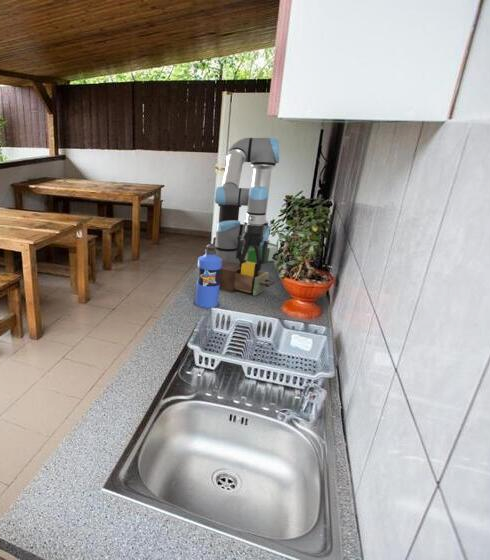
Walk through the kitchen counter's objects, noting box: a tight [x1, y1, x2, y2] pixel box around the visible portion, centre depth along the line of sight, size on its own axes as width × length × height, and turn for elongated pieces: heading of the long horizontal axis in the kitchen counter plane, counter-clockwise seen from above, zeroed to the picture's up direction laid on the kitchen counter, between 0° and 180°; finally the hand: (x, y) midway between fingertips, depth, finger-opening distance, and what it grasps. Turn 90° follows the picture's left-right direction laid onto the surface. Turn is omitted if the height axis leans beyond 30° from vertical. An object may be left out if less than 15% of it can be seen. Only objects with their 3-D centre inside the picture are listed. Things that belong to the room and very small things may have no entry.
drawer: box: [234, 270, 276, 297], centre depth 186 cm, size 18×11×8 cm, turn 49°
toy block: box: [241, 261, 256, 279], centre depth 186 cm, size 6×6×6 cm
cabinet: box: [219, 260, 241, 293], centre depth 194 cm, size 15×13×10 cm
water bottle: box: [194, 243, 222, 309], centre depth 170 cm, size 9×9×25 cm
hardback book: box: [241, 242, 278, 263], centre depth 237 cm, size 18×7×24 cm
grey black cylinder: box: [212, 204, 242, 245], centre depth 263 cm, size 16×16×30 cm
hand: (248, 276), depth 187 cm, fingers closed on toy block, 5 cm apart
